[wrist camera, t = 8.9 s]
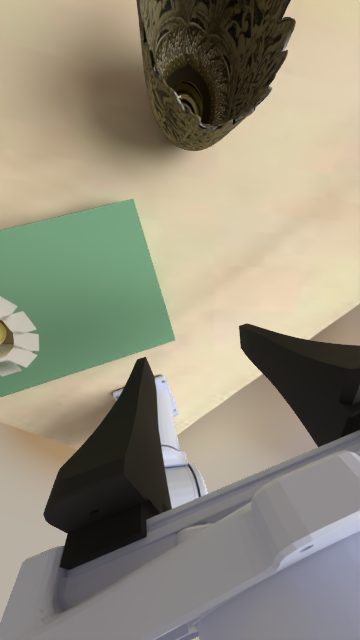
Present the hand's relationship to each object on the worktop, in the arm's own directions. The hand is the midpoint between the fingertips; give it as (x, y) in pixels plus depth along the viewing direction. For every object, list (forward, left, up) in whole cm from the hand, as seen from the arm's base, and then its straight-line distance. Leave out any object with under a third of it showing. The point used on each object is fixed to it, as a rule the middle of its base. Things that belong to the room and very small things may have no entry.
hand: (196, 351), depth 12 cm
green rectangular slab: (+4, +12, -10) cm, 16 cm away
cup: (+16, -5, -10) cm, 20 cm away
